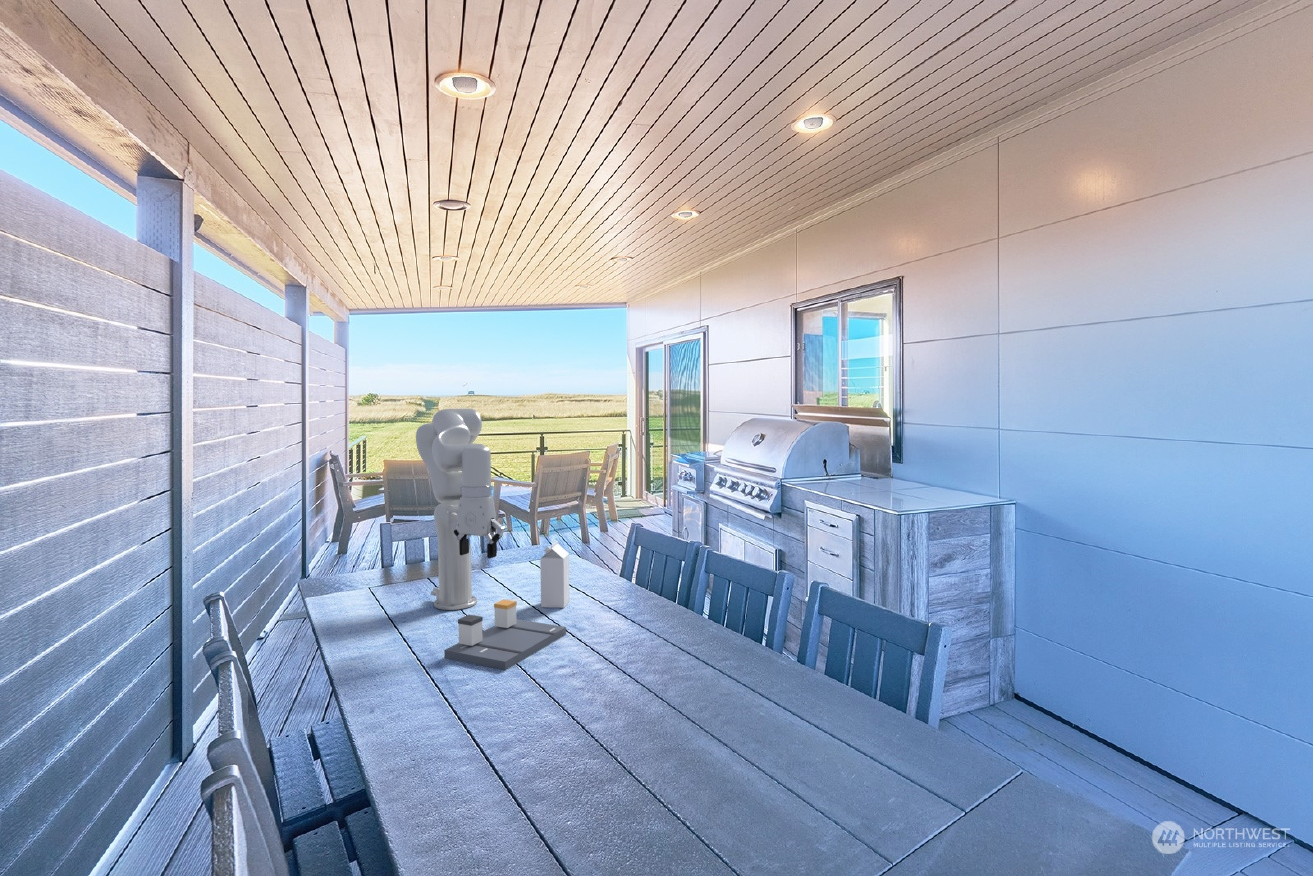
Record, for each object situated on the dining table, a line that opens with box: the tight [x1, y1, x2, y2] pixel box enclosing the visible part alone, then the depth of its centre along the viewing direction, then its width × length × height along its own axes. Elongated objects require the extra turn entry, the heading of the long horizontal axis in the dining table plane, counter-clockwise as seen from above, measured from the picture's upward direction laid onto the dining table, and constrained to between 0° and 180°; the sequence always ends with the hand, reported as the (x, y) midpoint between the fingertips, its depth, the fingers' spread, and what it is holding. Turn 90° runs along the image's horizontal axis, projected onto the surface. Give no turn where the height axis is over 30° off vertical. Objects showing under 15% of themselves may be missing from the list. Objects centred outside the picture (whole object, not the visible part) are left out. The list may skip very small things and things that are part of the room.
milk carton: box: [539, 539, 570, 609], centre depth 205 cm, size 7×7×19 cm
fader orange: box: [493, 599, 518, 628], centre depth 180 cm, size 4×4×6 cm
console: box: [443, 618, 567, 671], centre depth 172 cm, size 18×26×2 cm
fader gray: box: [457, 614, 484, 646], centre depth 168 cm, size 4×4×6 cm
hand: (478, 555), depth 183 cm, fingers open, 8 cm apart
